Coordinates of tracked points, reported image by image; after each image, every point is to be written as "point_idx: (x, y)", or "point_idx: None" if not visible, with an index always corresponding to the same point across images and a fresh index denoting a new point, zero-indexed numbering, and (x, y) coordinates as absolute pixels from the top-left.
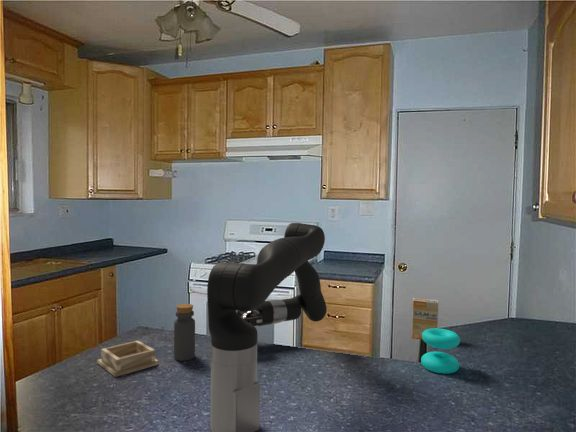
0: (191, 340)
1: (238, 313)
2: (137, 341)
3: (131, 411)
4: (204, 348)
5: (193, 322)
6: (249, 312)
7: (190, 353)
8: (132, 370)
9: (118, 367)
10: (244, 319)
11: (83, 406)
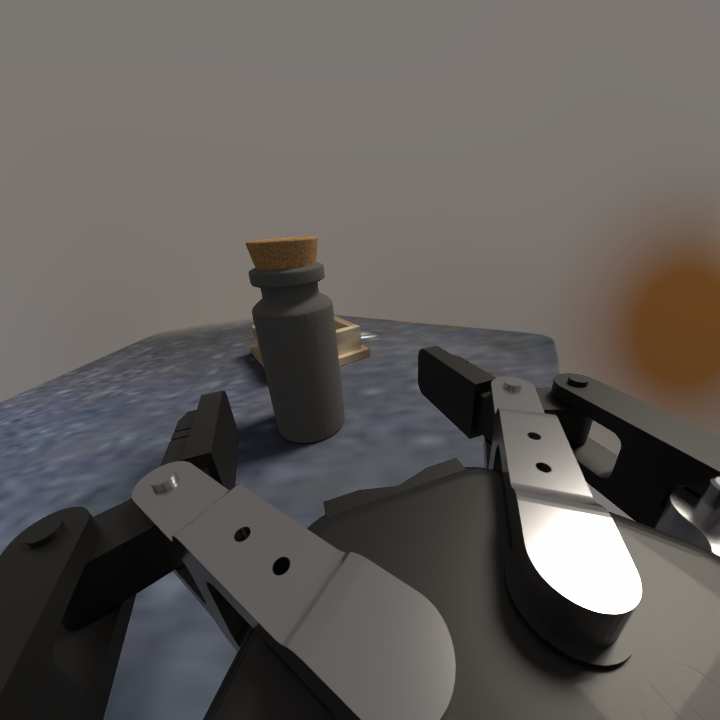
0: (269, 379)
1: (644, 511)
2: (352, 327)
3: (80, 386)
4: (387, 466)
5: (263, 316)
6: (265, 602)
7: (276, 418)
8: (260, 361)
9: (256, 341)
10: (57, 515)
11: (165, 349)
